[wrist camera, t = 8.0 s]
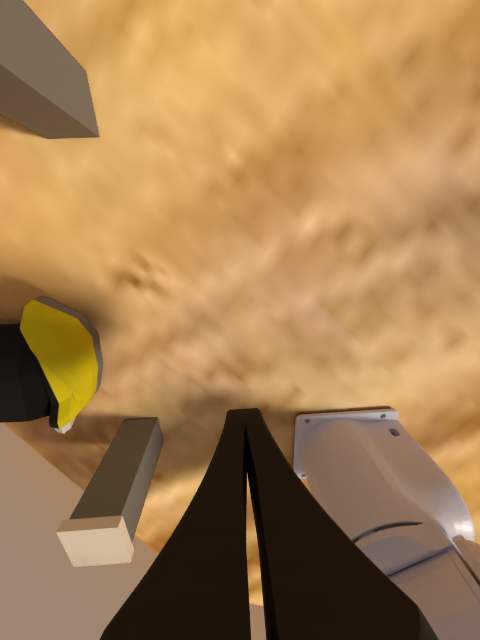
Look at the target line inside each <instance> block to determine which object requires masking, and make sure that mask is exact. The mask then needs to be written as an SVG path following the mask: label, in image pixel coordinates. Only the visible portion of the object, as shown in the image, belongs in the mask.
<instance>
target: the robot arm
mask: <svg viewBox="0 0 480 640" xmlns="http://www.w3.org/2000/svg"><path fill="white" fill-rule="evenodd" d="M398 416H399V413H398V411H397V410H396V409H393V408H392V409H377V410H362V411H347V412H332V413H317V414H302V415H298V416H297V417H296V420H295V440H294V460H293V469H292V467H291V466H290V464H289V463H288V461H287V460H286V458H285V457H284V455H283V453H282V452H281V450H280V448H279V447H278V445H277V443H276V442H275V440H274V438H273V437H272V435H271V433H270V431H269V429H268V427H267V425H266V423H265V421H264V419H263V416H262V414H261V411H260V410H259V409H258V408H252V409H236V410H229V411H228V412H227V415H226V420H225V424H224V428H223V431H222V434H221V437H220V440H219V443H218V445H217V448H216V451H215V453H214V456H213V458H212V460H211V463H210V465H209V467H208V469H207V472H206V474H205V476H204V478H203V480H202V482H201V484H200V486H199V488H198V490H197V492H196V494H195V496H194V497H193V499H192V501H191V503H190V505H189V507H188V508H187V510H186V512H185V513H184V515H183V517H182V519H181V520H180V522H179V524H178V525H177V527H176V529H175V530H174V532H173V533H172V535H171V537H170V538H169V540H168V541H167V543H166V544H165V546H164V547H163V549H162V550H161V552H160V553H159V555H158V556H157V558H156V559H155V561H154V562H153V564H152V565H151V567H150V568H149V570H148V571H147V573H146V574H145V575H144V577H143V578H142V580H141V581H140V583H139V584H138V585H137V587H136V588H135V589H134V591H133V592H132V593H131V595H130V596H129V598H128V599H127V600H126V601H125V603H124V604H123V605H122V607H121V608H120V610H119V611H118V612H117V614H116V615H115V616H114V618H113V619H112V620H111V622H110V623H109V624H108V626H107V627H106V628H105V630H104V632H103V634H102V636H101V638H100V640H251V629H250V610H249V592H248V573H247V554H246V504H247V474H248V481H249V487H250V494H251V500H252V507H253V513H254V519H255V526H256V532H257V540H258V548H259V558H260V570H261V581H262V593H263V605H264V617H265V628H266V640H480V545H479V544H478V543H475V542H474V527H473V522H472V518H471V516H470V513H469V511H468V508H467V506H466V504H465V502H464V500H463V498H462V496H461V495H460V493H459V491H458V490H457V488H456V487H455V485H454V484H453V482H452V481H451V480H450V479H449V477H448V476H447V475H446V474H445V473H444V471H443V470H442V469H441V468H440V467H439V466H438V465H437V464H436V463H435V461H434V460H433V459H432V458H431V457H430V456H429V455H428V454H427V452H426V451H425V450H424V449H423V448H422V447H421V446H420V445H419V444H418V442H417V441H416V440H415V439H414V438H413V437H412V436H411V435H410V434H409V432H408V431H407V430H406V429H405V428H404V427H403V426H402V425H401V423H400V422H399V421H398ZM306 419H308V420H306ZM306 478H307V481H308V484H309V487H310V490H311V493H312V494H311V493H310V492H309V490H308V489H307V488H306V487H305V485H304V484H303V483H302V481H301V480H300V479H306Z"/></svg>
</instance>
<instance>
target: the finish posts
mask: <svg viewBox="0 0 480 640" xmlns="http://www.w3.org/2000/svg"><path fill="white" fill-rule="evenodd" d="M0 114H1V115H2V116H4V117H6V118H8V119H10V120H12V121H14V122H16V123H18V124H20V125H22V126H24V127H26V128H28V129H30V130H32V131H34V132H36V133H38V134H39V135H41V136H43V137H45V138H47V139H57V138H86V137H99V132H98V127H97V122H96V117H95V113H94V108H93V103H92V98H91V93H90V89H89V84H88V79H87V74H86V70H85V69H84V68H83V67H82V66H81V65H80V64H79V63H78V61H77V60H76V59H75V58H74V57H73V56H72V55H71V54H70V52H69V51H68V50H67V49H66V48H65V47H64V46H63V45H62V43H61V42H60V41H59V40H58V39H57V38H56V37H55V36H54V34H53V33H52V32H51V31H50V30H49V29H48V28H47V27H46V25H45V24H44V23H43V22H42V21H41V20H40V19H39V18H38V16H37V15H36V14H35V13H34V12H33V11H32V10H31V9H30V8H29V6H28V5H27V4H26V3H25V2H24V1H23V0H0ZM162 445H163V439H162V435H161V430H160V425H159V420H158V418H145V419H130V420H124V421H123V423H122V425H121V427H120V429H119V430H118V432H117V434H116V436H115V438H114V439H113V441H112V443H111V445H110V447H109V448H108V450H107V452H106V454H105V456H104V457H103V459H102V461H101V463H100V465H99V466H98V468H97V470H96V472H95V474H94V475H93V477H92V479H91V481H90V483H89V485H88V486H87V488H86V490H85V492H84V494H83V496H82V497H81V499H80V501H79V503H78V504H77V506H76V508H75V510H74V512H73V513H72V515H71V517H70V519H69V520H63V521H62V523H61V525H60V527H59V528H58V530H57V532H56V533H57V535H58V537H59V539H60V541H61V543H62V545H63V547H64V549H65V551H66V553H67V555H68V557H69V558H70V561H71V563H72V565H73V566H74V567H81V566H93V565H105V564H117V563H130V562H131V559H132V555H133V552H134V549H133V545H132V541H133V538H134V535H135V532H136V528H137V525H138V522H139V519H140V516H141V512H142V509H143V506H144V503H145V499H146V496H147V493H148V490H149V487H150V483H151V480H152V477H153V474H154V471H155V467H156V464H157V461H158V458H159V454H160V451H161V448H162Z"/></svg>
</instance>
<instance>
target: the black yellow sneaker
mask: <svg viewBox="0 0 480 640" xmlns="http://www.w3.org/2000/svg"><path fill="white" fill-rule="evenodd" d="M102 368H103V359H102V352H101V346H100V340H99V334H98V331H97V330H96V329H95V328H94V327H93V326H92V324H91V323H90V322H89V321H88V320H87V319H86V317H85V316H84V315H82V314H80V313H78V312H76V311H74V310H72V309H71V308H69V307H67V306H65V305H63V304H61V303H59V302H57V301H55V300H53V299H51V298H49V297H44V296H40V297H37V298H35V299H32V300H31V301H30V302H28V303H27V304H26V305H25V306H24V309H23V314H22V319H21V321H9V322H0V423H1V422H24V421H31V420H35V419H38V418H42V417H46V416H50V417H49V424H50V427H53V428H54V429H55V430H56V431H57V432H58V433H62V434H64V433H65V432H66V431H68V430H69V429H71V427H72V425H73V423H74V420H75V418H76V416H77V414H78V413H79V412H80V411H81V410H82V409H84V407H85V406H86V405H87V404H88V403H89V402H90V401H91V399H92V398H93V396H94V394H95V393H96V392H97V390H98V388H99V386H100V384H101V376H102Z"/></svg>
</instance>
